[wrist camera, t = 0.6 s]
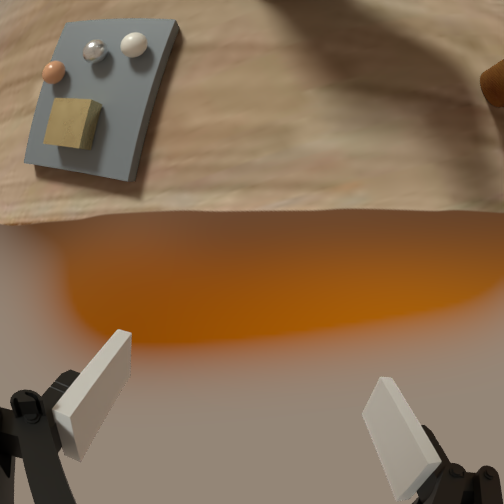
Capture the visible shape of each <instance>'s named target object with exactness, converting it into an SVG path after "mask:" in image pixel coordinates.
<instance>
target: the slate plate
mask: <svg viewBox="0 0 504 504" xmlns="http://www.w3.org/2000/svg"><path fill="white" fill-rule="evenodd" d="M178 30H179V26H178V24H177V22H176V20H173V19H144V18H130V19H102V20H88V21H77V22H68V23H66V24H65V27H64V29H63V31H62V34H61V36H60V38H59V41H58V43H57V46H56V48H55V51H54V54H53V56H52V59H51V62H52V61H60V62H62V63H63V64H64V66H65V75H64V77H63V78H62V80H61V81H59V82H58V83H56V84H48V83H46V82H45V81H44V82H43V85H42V89H41V92H40V95H39V99H38V102H37V106H36V110H35V113H34V117H33V121H32V125H31V130H30V134H29V139H28V143H27V148H26V154H25V159H24V163H28V164H34V165H40V166H46V167H52V168H58V169H64V170H69V171H75V172H81V173H86V174H91V175H97V176H102V177H107V178H113V179H118V180H123V181H135V179H136V174H137V169H138V165H139V160H140V156H141V152H142V148H143V143H144V139H145V135H146V132H147V128H148V124H149V120H150V116H151V113H152V109H153V106H154V102H155V99H156V95H157V92H158V89H159V86H160V82H161V79H162V76H163V73H164V70H165V67H166V64H167V61H168V58H169V55H170V52H171V49H172V47H173V44H174V41H175V38H176V36H177V33H178ZM134 32H138V33H141V34H143V35H144V36H145V37H146V39H147V42H148V45H147V48H146V50H145V52H144V53H143V54H141V55H140V56H138V57H133V58H131V57H127V56H125V55H124V54H123V53H122V51H121V48H120V45H121V42H122V40H123V38H124V37H125V36H126V35H128V34H130V33H134ZM95 39H100V40H102V41H104V42H105V43H106V44H107V47H108V52H107V55H106V56H105V58H104V59H103V60H102V61H100V62H98V63H94V64H92V63H88V62H86V61H85V60H84V58H83V55H82V52H83V48H84V47H85V45H86V44H87V43H88V42H90V41H92V40H95ZM54 98H76V99H92V100H94V101H96V102H98V103H100V104H102V108H101V111H100V115H99V119H98V123H97V126H96V130H95V134H94V139H93V143H92V147H91V150H85V149H78V148H71V147H64V146H56V145H49V144H43V142H44V137H45V133H46V129H47V124H48V120H49V117H50V113H51V109H52V105H53V102H54Z"/></svg>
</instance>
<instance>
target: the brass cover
mask: <svg viewBox="0 0 504 504" xmlns="http://www.w3.org/2000/svg"><path fill="white" fill-rule="evenodd" d="M101 108H102V104H100V103H98V102H96V101H94V100H92V99H76V98H54V102H53V105H52V109H51V113H50V117H49V120H48V124H47V129H46V133H45V137H44V142H43V144H49V145H56V146H64V147H71V148H78V149H85V150H91V147H92V143H93V139H94V134H95V130H96V126H97V123H98V119H99V115H100V111H101Z"/></svg>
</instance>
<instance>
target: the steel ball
mask: <svg viewBox="0 0 504 504" xmlns="http://www.w3.org/2000/svg"><path fill="white" fill-rule="evenodd" d="M107 52H108V47H107V44H106V43H105V42H104V41H102V40H100V39H95V40H92V41H90V42H88V43H87V44H86V45H85V47H84V48H83V52H82V55H83V58H84V60H85V61H86V62H88V63H92V64H94V63H98V62H100V61H102V60H103V59H104V58H105V56H106V55H107Z"/></svg>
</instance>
